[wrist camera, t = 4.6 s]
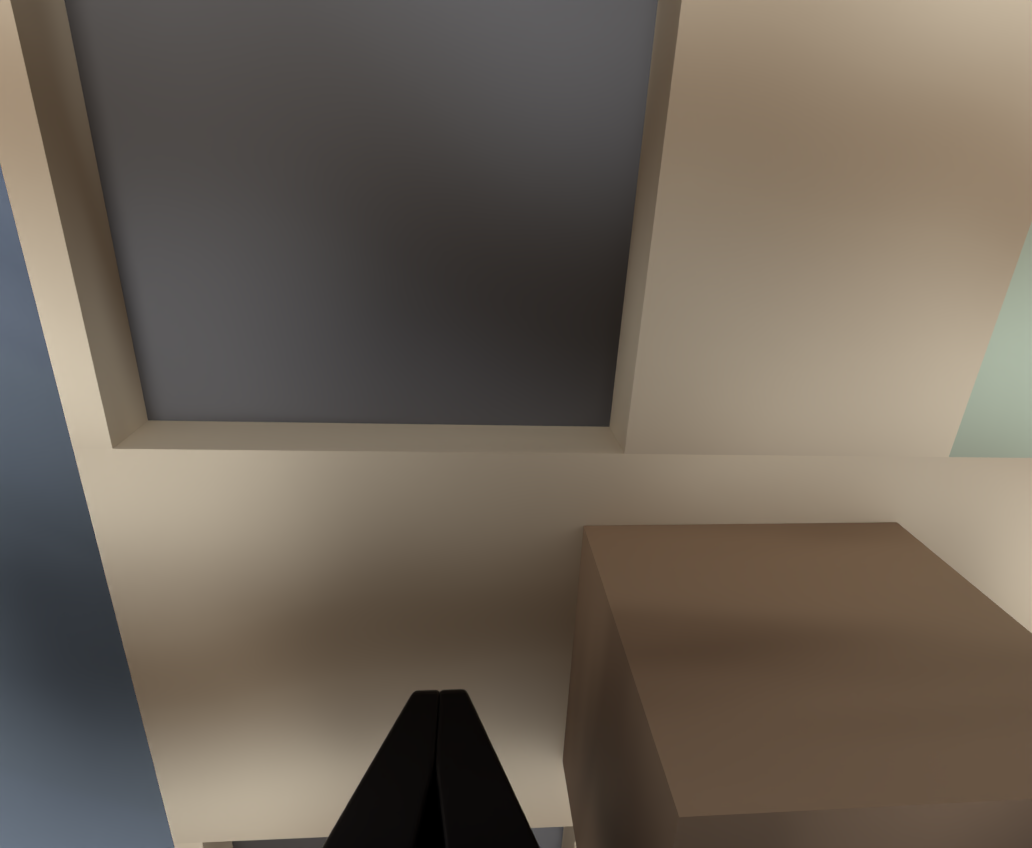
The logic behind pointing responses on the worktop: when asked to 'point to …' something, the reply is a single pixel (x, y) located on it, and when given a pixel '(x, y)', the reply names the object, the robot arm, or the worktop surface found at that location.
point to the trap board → (500, 335)
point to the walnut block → (792, 693)
